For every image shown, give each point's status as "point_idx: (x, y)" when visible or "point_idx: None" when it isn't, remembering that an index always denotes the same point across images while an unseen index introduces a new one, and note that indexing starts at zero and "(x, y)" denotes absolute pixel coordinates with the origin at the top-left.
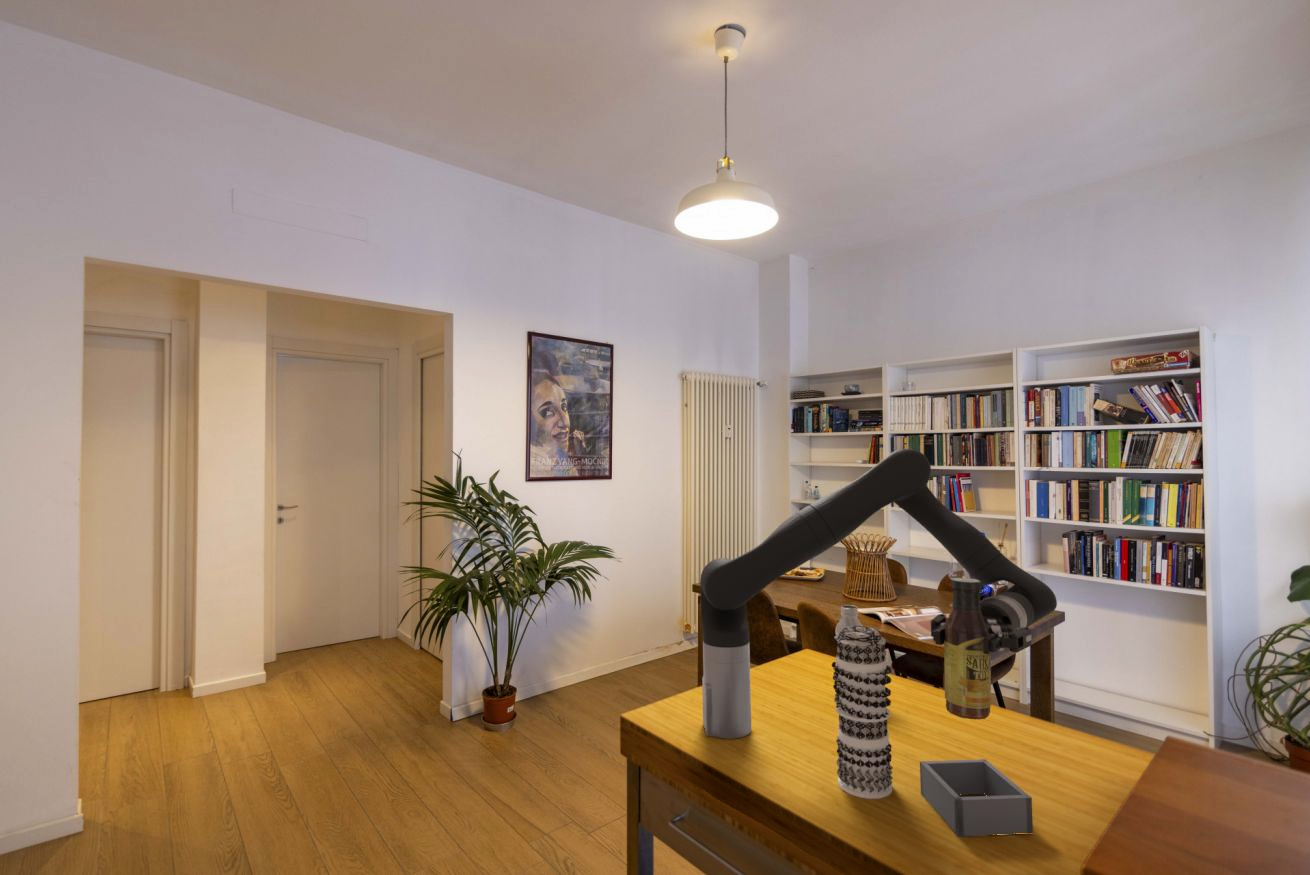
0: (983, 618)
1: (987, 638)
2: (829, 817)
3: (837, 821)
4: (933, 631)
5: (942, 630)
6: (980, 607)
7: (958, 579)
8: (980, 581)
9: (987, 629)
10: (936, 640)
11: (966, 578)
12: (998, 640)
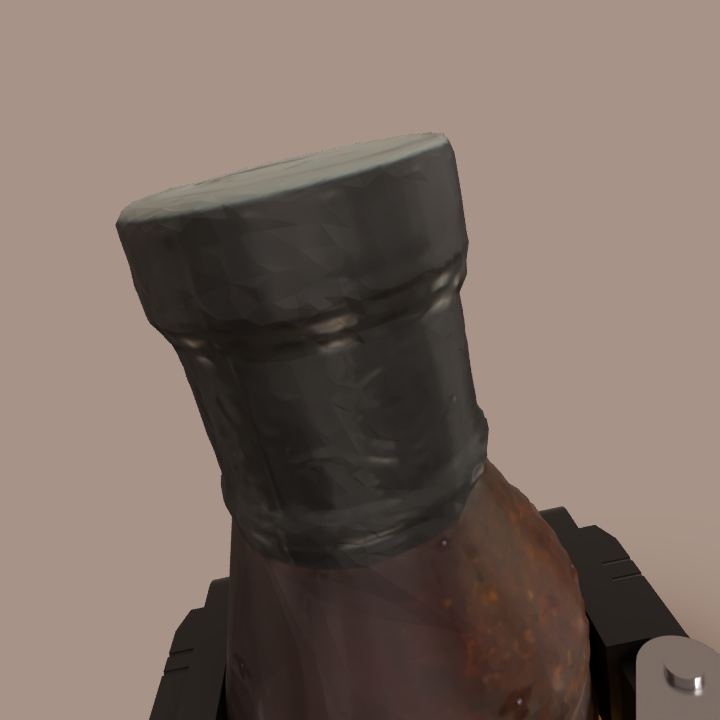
0: (232, 585)
1: (221, 585)
2: None
3: None
4: (597, 529)
5: None
6: (221, 475)
7: (354, 148)
8: (118, 218)
9: (227, 661)
10: None
11: (308, 166)
12: (161, 682)
